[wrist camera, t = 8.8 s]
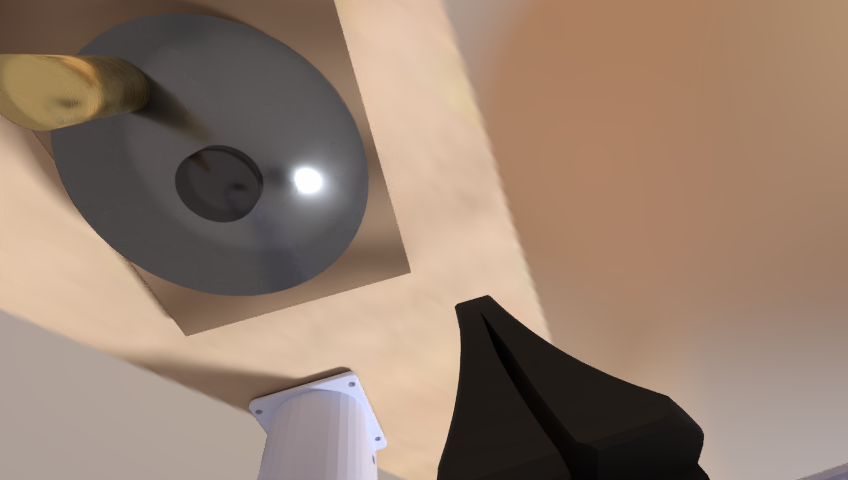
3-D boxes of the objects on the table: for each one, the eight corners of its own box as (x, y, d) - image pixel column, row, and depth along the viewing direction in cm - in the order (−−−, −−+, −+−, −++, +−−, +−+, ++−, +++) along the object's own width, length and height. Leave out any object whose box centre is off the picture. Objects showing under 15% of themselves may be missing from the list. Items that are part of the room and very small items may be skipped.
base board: (408, 262, 23) (410, 272, 22) (194, 323, 22) (185, 336, 21) (313, -72, 15) (310, -82, 14) (-32, 7, 14) (-64, 2, 13)
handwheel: (417, 192, 19) (438, 236, 14) (244, 323, 21) (211, 401, 16) (214, -65, 13) (132, -139, 8) (-4, 150, 15) (-175, 193, 10)
